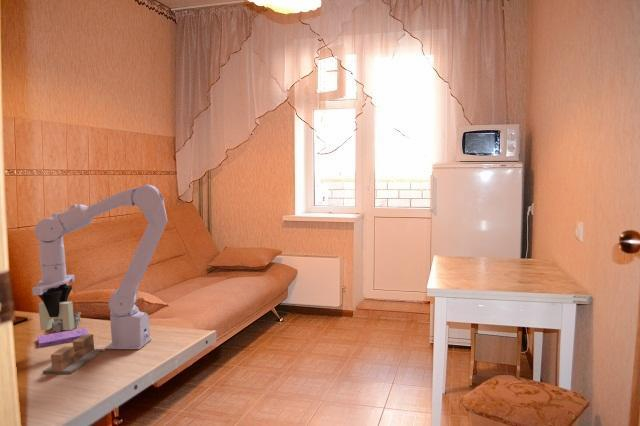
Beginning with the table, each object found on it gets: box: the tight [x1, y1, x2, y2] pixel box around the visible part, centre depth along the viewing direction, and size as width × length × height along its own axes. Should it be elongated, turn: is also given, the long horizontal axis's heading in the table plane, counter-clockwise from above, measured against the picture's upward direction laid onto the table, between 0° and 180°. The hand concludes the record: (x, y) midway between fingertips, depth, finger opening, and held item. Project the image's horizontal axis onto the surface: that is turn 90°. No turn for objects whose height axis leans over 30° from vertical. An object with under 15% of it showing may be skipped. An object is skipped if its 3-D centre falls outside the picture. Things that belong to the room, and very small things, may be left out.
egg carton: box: [51, 311, 82, 333], centre depth 150 cm, size 11×8×4 cm
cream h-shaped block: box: [38, 301, 74, 331], centre depth 128 cm, size 8×2×7 cm, turn 85°
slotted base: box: [42, 333, 104, 375], centre depth 121 cm, size 14×7×5 cm, turn 175°
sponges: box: [37, 327, 89, 348], centre depth 138 cm, size 7×13×2 cm, turn 120°
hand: (57, 315), depth 128 cm, fingers closed on cream h-shaped block, 2 cm apart
